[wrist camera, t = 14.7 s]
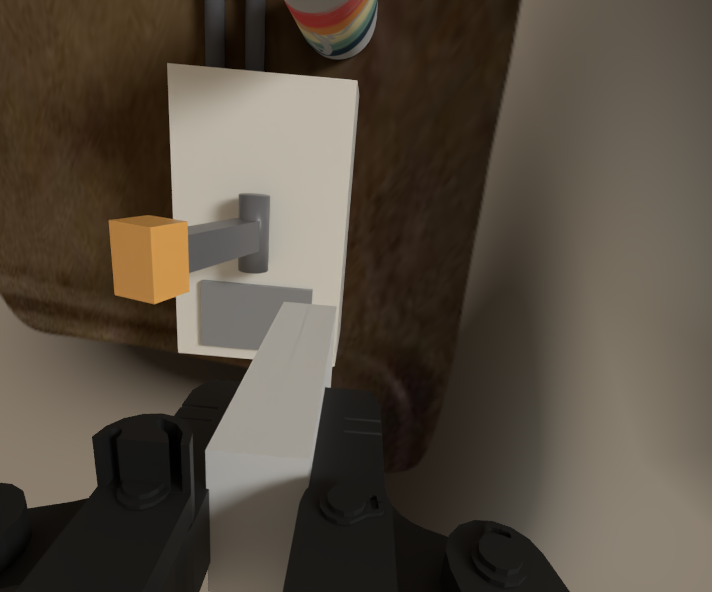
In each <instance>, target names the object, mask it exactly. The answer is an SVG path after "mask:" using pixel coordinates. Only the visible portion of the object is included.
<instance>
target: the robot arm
mask: <svg viewBox="0 0 712 592" xmlns="http://www.w3.org/2000/svg"><path fill="white" fill-rule="evenodd" d="M336 309H337V306H327V305H316V304H304V303H293V302H283V304H282V306H281V308H280V310H279V312H278V314H277V315H276V317H275V319H274V321H273V323H272V325H271V327H270V329H269V331H268V332H267V334H266V336H265V338H264V340H263V342H262V344H261V346H260V348H259V349H258V351H257V353H256V355H255V357H254V359H253V361H252V363H251V365H250V367H249V368H248V371H247V372H246V374H245V376H244V378H243V380H242V382H239V381H227V380H215V379H210V380H208V381H206V382H205V383H203V384H202V385H200V386H199V387H197V388H195V389H194V390H192V392H191V393H190V394H189V396H188V397H187V399H186V400H185V401H184V403H183V404H182V408H180V409H179V410H178V411H177V413H176V414H175V415H174V416H170V415H166V414H142V415H137V416H132V417H128V418H123V419H121V420H119V421H117V422H114V423H112V424H110V425H107V426H106V427H104V428H103V429H102V430H100V431H99V432H98V433H97V434H95V435H94V436H93V437H92V440H93V449H94V458H95V467H96V475H97V484H98V487H97V488H96V489H95V490H94V492H93V493H92V494H91V496H90V497H89V498H87V499H82V500H78V501H73V502H68V503H61V504H54V505H49V506H41V507H35V508H28V509H27V504H26V500H25V496H24V492H23V491H22V490H21V489H19V488H18V487H16V486H14V485H13V484H6V483H0V592H199V591H200V588H201V586H202V583H203V580H204V578H205V575H206V572H207V570H208V591H210V592H570V591H569V590H568V589H567V587H566V586H565V584H564V583H563V581H562V580H561V579H560V577H559V576H558V574H557V573H556V571H555V570H554V569H553V567H552V566H551V565H550V563H549V562H548V560H547V559H546V557H545V556H544V555H543V554H542V552H541V551H540V550H539V549H538V548H537V547H536V546H535V545H534V544H533V543H532V542H531V541H530V539H528V538H527V537H525V536H524V535H522V534H520V533H519V532H517V531H516V530H514V529H512V528H511V527H508V526H505V525H502V524H499V523H496V522H493V521H480V520H473V521H470V522H467V523H464V524H461V525H459V526H458V527H457V528H456V529H455V530H454V531H453V532H452V533H451V534H450V535H449V537H447V536H444V535H441V534H438V533H436V532H433V531H430V530H427V529H424V528H423V527H420V526H418V525H416V524H414V523H412V522H410V521H409V520H408V519H406V518H405V517H403V516H402V515H401V514H400V513H399V512H398V511H397V510H396V509H395V508H394V507H393V506H392V504H391V502H390V500H389V499H388V497H387V493H386V489H385V479H384V462H383V445H382V428H381V411H380V404H379V402H378V401H377V400H376V398H375V397H374V396H373V394H372V393H371V392H370V391H363V390H351V389H340V388H330V387H331V374H332V361H333V348H334V335H335V322H336Z"/></svg>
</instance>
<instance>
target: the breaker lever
mask: <svg viewBox="0 0 712 592" xmlns="http://www.w3.org/2000/svg"><path fill="white" fill-rule="evenodd" d="M269 222H270V196H269V195H264V194H255V193H240V194H239V211H238V218H233V219H228V220H222V221H216V222H210V223H204V224H199V225H193V226H188V221H182V220H176V219H170V218H163V217H157V216H151V215H146V216H138V217H130V218H122V219H114V220H109V230H110V243H111V255H112V267H113V280H114V292H115V295H117V296H121V297H126V298H130V299H134V300H138V301H142V302H147V303H151V304H157V303H159V302H162V301H165V300H168V299H170V298H173V297H176V296H179V295H181V294H184V293H187V292H190V290H189V273H191V272H195V271H198V270H201V269H204V268H207V267H211V266H214V265H217V264H220V263H223V262H227V261H230V260H233V259H236V258H238V270H239V271H241V272H244V273H251V274H258V273H265V272H267V271H268V259H269Z"/></svg>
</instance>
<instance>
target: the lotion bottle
mask: <svg viewBox="0 0 712 592" xmlns="http://www.w3.org/2000/svg"><path fill="white" fill-rule="evenodd" d="M284 1H285V3H286V5H287V7H288V9H289V10H290V12H291V14H292V16H293V18H294V20H295V21H296V23H297V25H298V27H299V29H300V31H301V32H302V34H303V36H304V38H305V39H306V41H307V42H308V43H309V45H310V46H311V47H312V48H313V49H314V50H315V51H316V52H318V53H319V54H321V55H323V56H325V57H327V58H330V59H346V58H349V57H352V56H354V55H356V54H357V53H359V52H360V51H361V50H362V49H363V48H364V47H365V46H366V45H367V44H368V42H369V40H370V39H371V37H372V34H373V32H374V29H375V24H376V18H377V6H378V0H284Z"/></svg>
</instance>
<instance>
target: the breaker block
mask: <svg viewBox="0 0 712 592" xmlns="http://www.w3.org/2000/svg"><path fill="white" fill-rule="evenodd" d="M167 72H168V98H169V125H170V151H171V178H172V205H173V219H176V220H182V221H188V226H193V225H199V224H204V223H210V222H216V221H222V220H228V219H233V218H238V211H239V194H240V193H255V194H264V195H269V196H270V222H269V259H268V271H267V272H265V273H258V274H251V273H244V272H241V271H239V270H238V258H236V259H233V260H230V261H227V262H223V263H220V264H217V265H214V266H211V267H207V268H204V269H201V270H198V271H195V272H191V273H189V290H190V292H187V293H184V294H181V295H179V296H176V311H177V337H178V353H188V354H199V355H211V356H222V357H233V358H244V359H254V357H255V355H256V353H257V351H258V349H259V348H260V346H261V344H262V342H263V340H264V338H265V336H266V334H267V332H268V331H269V329H270V327H271V325H272V323H273V321H274V319H275V317H276V315H277V314H278V312H279V310H280V308H281V306H282V304H283V302H293V303H304V304H316V305H327V306H337V309H336V322H335V335H334V348H333V361H332V366H334V367H335V360H336V354H337V347H338V341H339V334H340V324H341V311H342V299H343V287H344V274H345V262H346V250H347V237H348V225H349V213H350V201H351V188H352V176H353V164H354V151H355V139H356V127H357V114H358V102H359V90H358V82H357V80H347V79H336V78H325V77H314V76H303V75H292V74H281V73H270V72H259V71H248V70H237V69H226V68H215V67H204V66H193V65H183V64H172V63H167Z"/></svg>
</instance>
